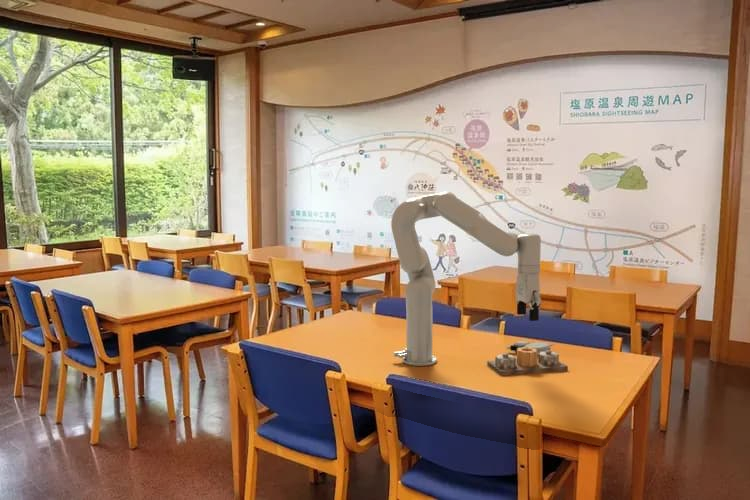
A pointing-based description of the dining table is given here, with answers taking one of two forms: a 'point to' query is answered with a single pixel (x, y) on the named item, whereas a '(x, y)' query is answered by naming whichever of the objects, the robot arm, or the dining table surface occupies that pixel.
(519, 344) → the robot toy
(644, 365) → the dining table surface
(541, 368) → the gear board
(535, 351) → the orange gear
